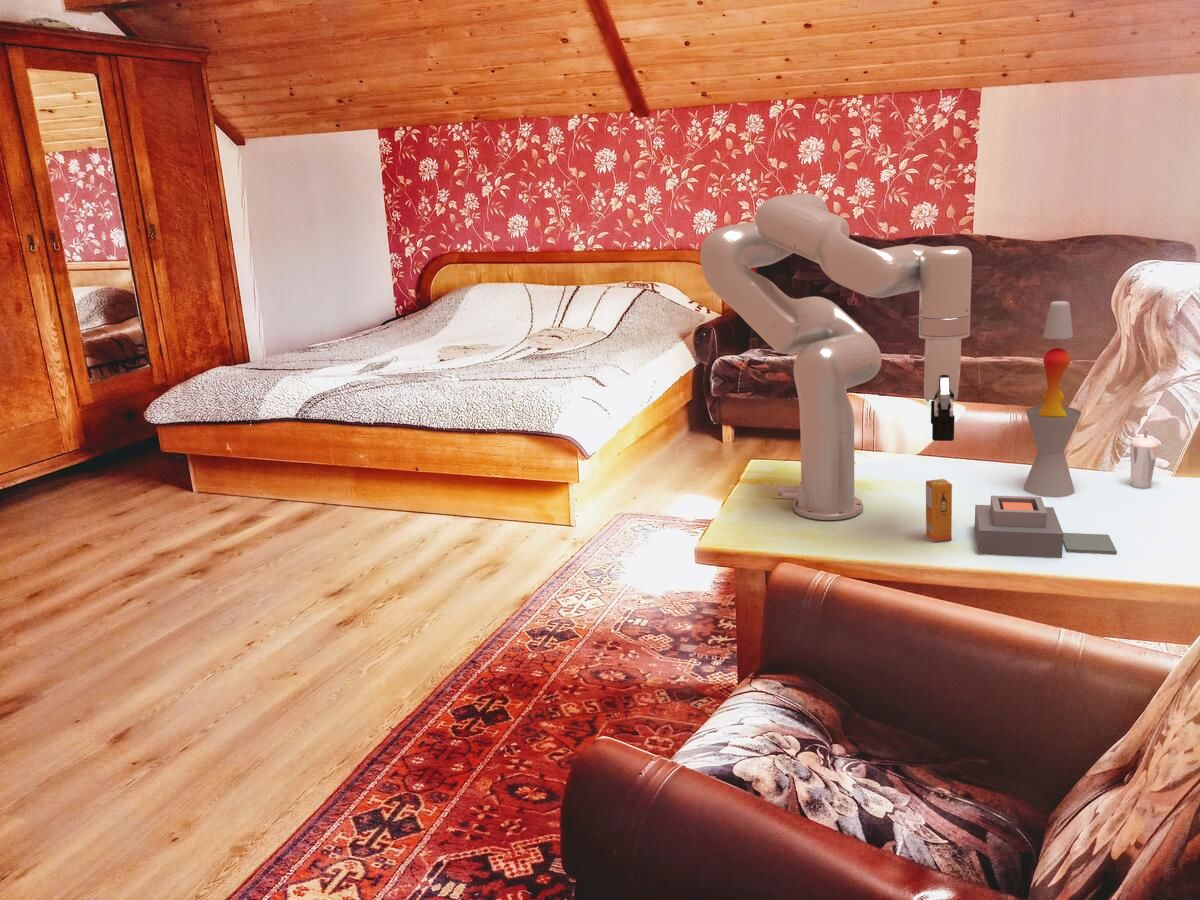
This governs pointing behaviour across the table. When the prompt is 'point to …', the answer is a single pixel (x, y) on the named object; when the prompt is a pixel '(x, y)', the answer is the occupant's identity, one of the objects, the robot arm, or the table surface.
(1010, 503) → the breaker button
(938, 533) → the supplement box
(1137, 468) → the milkshake
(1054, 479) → the lava lamp
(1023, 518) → the frame
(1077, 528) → the table surface
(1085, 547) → the rest mat
